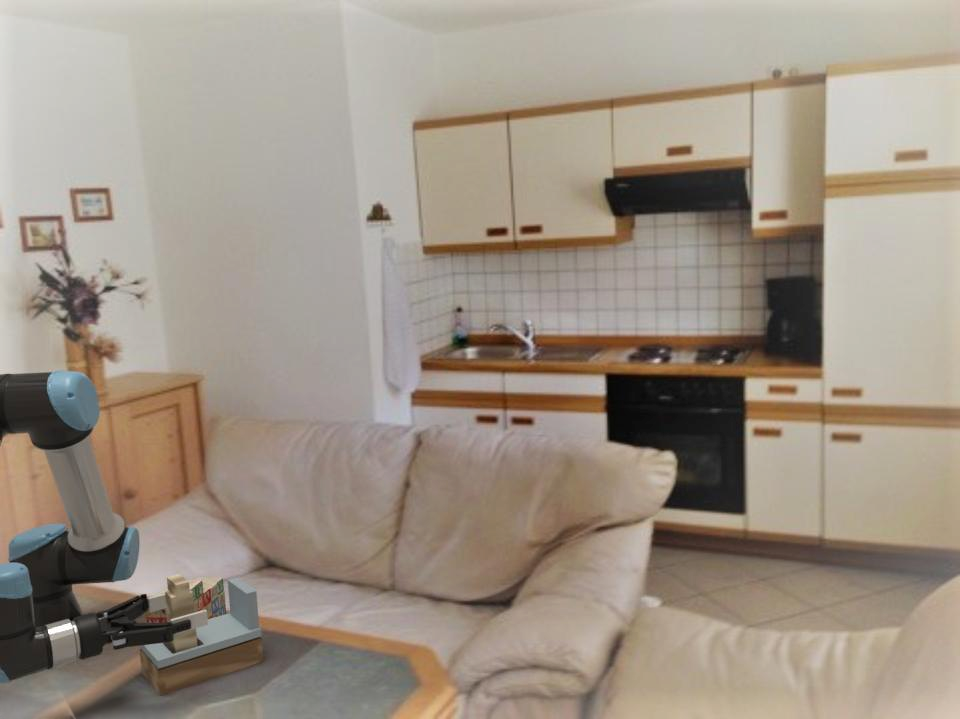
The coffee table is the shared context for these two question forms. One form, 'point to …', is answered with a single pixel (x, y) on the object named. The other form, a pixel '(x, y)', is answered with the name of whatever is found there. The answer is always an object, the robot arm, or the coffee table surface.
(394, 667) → the coffee table surface
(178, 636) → the key
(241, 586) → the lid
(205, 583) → the stack of blocks
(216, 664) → the wooden box
